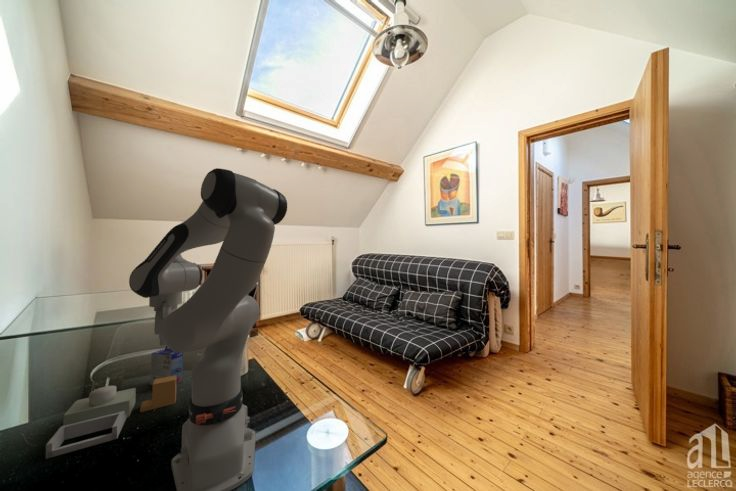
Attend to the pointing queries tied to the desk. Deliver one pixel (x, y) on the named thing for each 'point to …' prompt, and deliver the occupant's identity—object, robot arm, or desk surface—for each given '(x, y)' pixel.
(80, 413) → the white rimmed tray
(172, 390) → the orange upright block
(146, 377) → the desk surface
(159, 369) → the ink cartridge box
